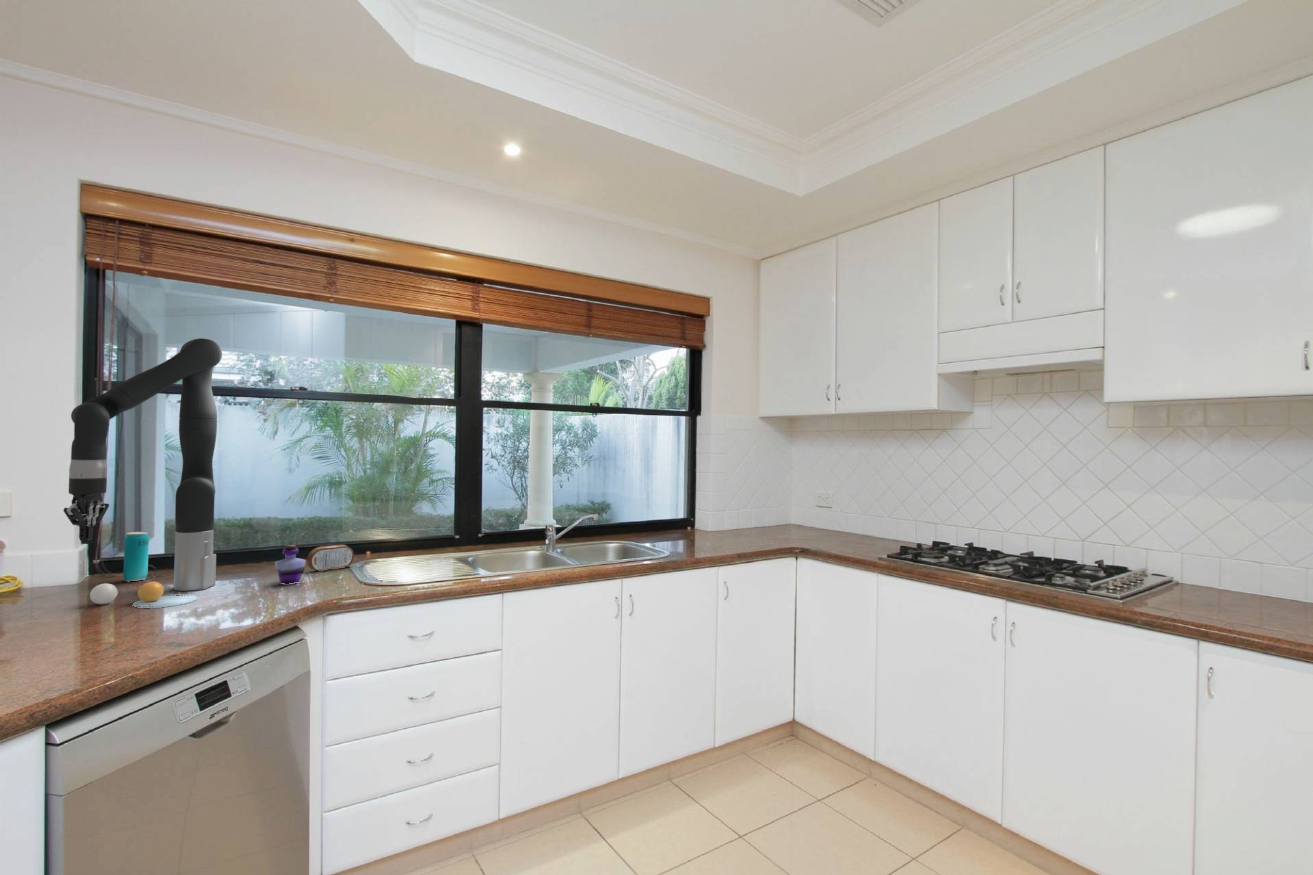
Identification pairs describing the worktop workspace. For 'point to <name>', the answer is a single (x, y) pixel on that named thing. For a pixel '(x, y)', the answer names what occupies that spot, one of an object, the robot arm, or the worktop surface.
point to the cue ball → (103, 593)
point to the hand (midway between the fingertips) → (86, 540)
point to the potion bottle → (290, 565)
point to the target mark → (166, 601)
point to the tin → (330, 557)
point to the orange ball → (150, 591)
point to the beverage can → (136, 556)
